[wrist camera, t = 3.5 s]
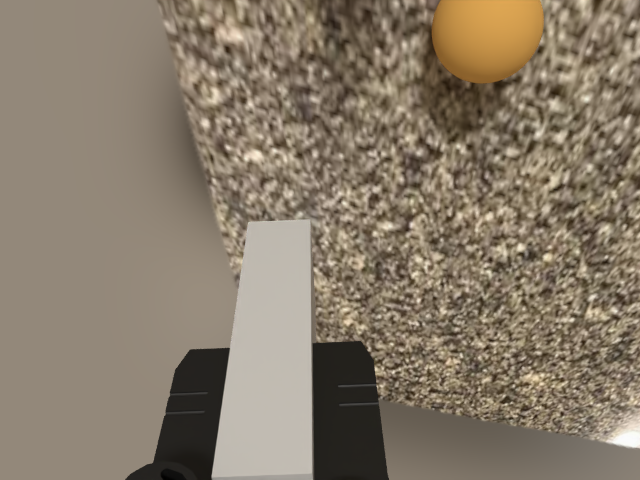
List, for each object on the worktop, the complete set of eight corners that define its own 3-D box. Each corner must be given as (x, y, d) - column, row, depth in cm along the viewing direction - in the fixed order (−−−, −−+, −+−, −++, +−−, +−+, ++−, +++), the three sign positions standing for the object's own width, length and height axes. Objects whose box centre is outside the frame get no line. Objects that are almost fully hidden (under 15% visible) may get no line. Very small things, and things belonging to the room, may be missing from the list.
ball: (544, 9, 31) (582, 41, 27) (465, 81, 33) (488, 121, 29) (483, -66, 29) (514, -45, 24) (403, 16, 31) (418, 48, 27)
